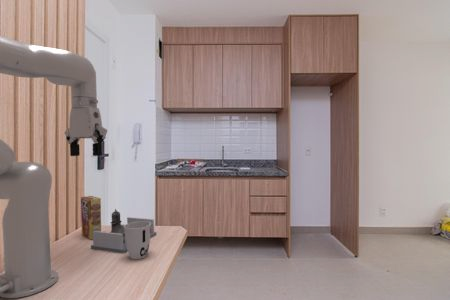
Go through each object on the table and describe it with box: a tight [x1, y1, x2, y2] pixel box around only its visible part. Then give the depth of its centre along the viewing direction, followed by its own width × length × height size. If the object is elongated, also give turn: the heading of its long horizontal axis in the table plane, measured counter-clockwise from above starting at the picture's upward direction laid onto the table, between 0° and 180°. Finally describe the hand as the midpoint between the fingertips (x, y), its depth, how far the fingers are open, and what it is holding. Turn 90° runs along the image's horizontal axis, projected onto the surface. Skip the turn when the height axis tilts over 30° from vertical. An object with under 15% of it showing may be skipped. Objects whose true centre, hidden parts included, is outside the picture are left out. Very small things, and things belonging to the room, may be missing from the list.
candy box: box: [80, 195, 102, 241], centre depth 106 cm, size 9×4×15 cm, turn 49°
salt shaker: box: [109, 208, 125, 243], centre depth 95 cm, size 6×6×12 cm
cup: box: [124, 221, 151, 260], centre depth 86 cm, size 8×8×10 cm
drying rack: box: [90, 216, 157, 254], centre depth 100 cm, size 18×14×6 cm
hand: (86, 155), depth 90 cm, fingers open, 9 cm apart
